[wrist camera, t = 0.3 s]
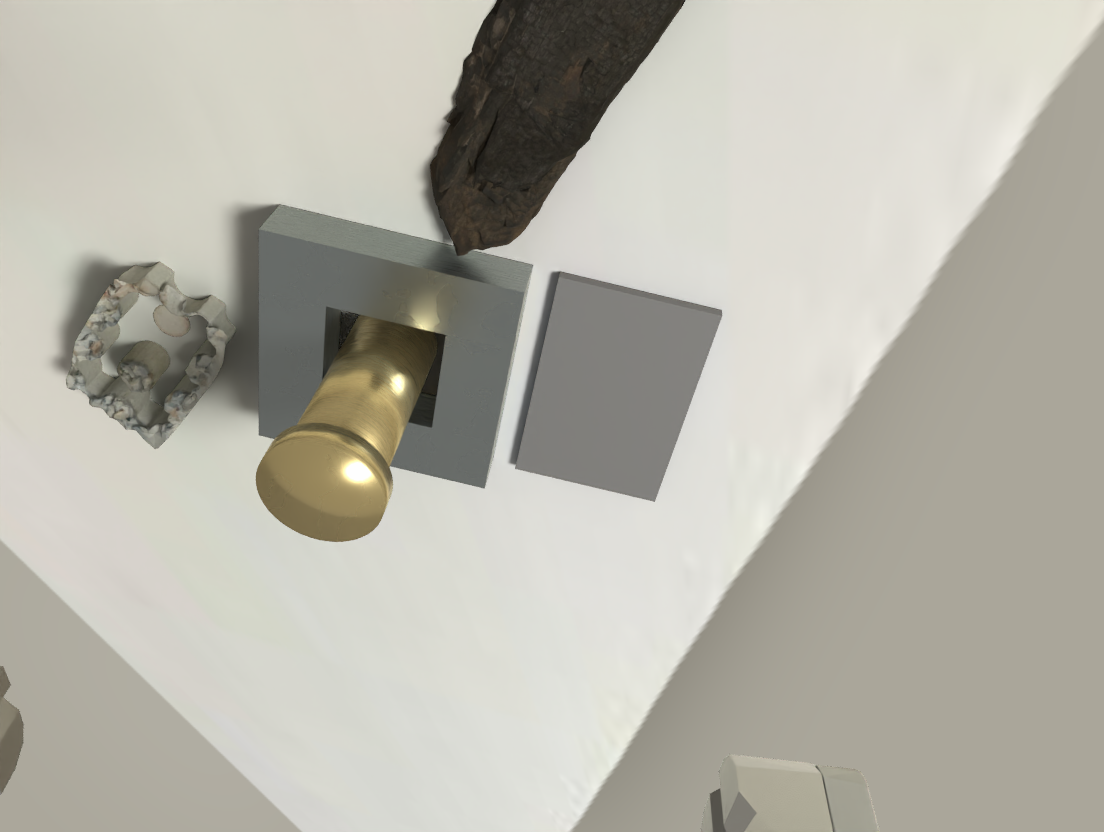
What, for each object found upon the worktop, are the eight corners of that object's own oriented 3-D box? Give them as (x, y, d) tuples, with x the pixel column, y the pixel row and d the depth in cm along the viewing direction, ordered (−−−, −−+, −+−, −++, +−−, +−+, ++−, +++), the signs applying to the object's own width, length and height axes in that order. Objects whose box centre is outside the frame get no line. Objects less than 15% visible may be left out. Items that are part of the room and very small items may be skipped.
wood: (624, -240, 37) (618, -237, 35) (769, -120, 39) (772, -109, 37) (380, 185, 50) (362, 209, 47) (497, 261, 52) (487, 289, 49)
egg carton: (145, 240, 54) (109, 274, 50) (258, 320, 56) (231, 357, 53) (76, 353, 59) (39, 390, 56) (181, 421, 61) (152, 461, 58)
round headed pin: (346, 282, 53) (255, 429, 42) (453, 308, 53) (389, 460, 42) (340, 370, 57) (255, 524, 46) (440, 394, 57) (378, 553, 46)
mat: (560, 271, 51) (558, 276, 50) (721, 310, 51) (722, 316, 50) (516, 462, 59) (515, 468, 59) (655, 495, 60) (654, 501, 59)
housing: (279, 204, 51) (258, 229, 48) (533, 265, 51) (524, 292, 48) (276, 405, 59) (258, 435, 57) (493, 456, 59) (484, 488, 57)
